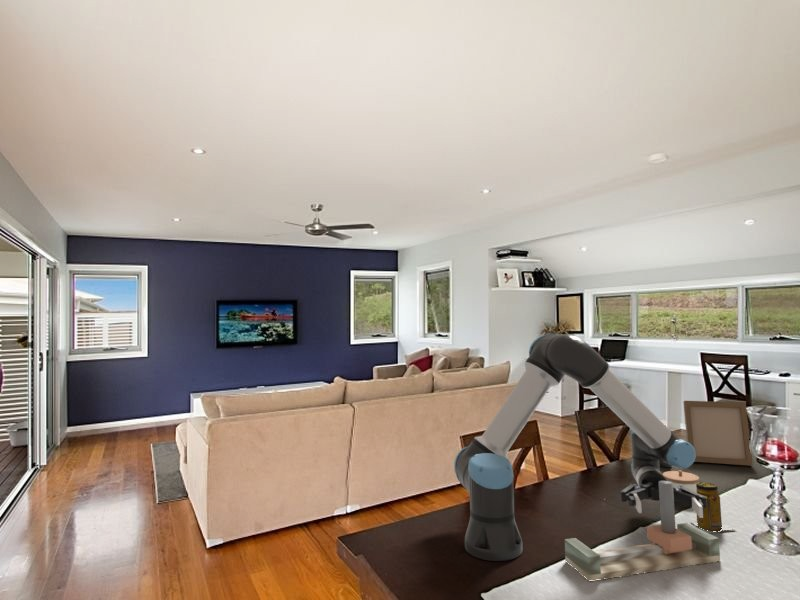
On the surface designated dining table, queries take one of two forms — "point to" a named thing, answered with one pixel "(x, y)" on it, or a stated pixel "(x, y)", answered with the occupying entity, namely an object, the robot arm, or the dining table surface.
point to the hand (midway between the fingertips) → (670, 509)
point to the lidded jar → (682, 479)
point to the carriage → (668, 524)
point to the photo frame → (718, 431)
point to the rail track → (647, 563)
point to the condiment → (710, 508)
